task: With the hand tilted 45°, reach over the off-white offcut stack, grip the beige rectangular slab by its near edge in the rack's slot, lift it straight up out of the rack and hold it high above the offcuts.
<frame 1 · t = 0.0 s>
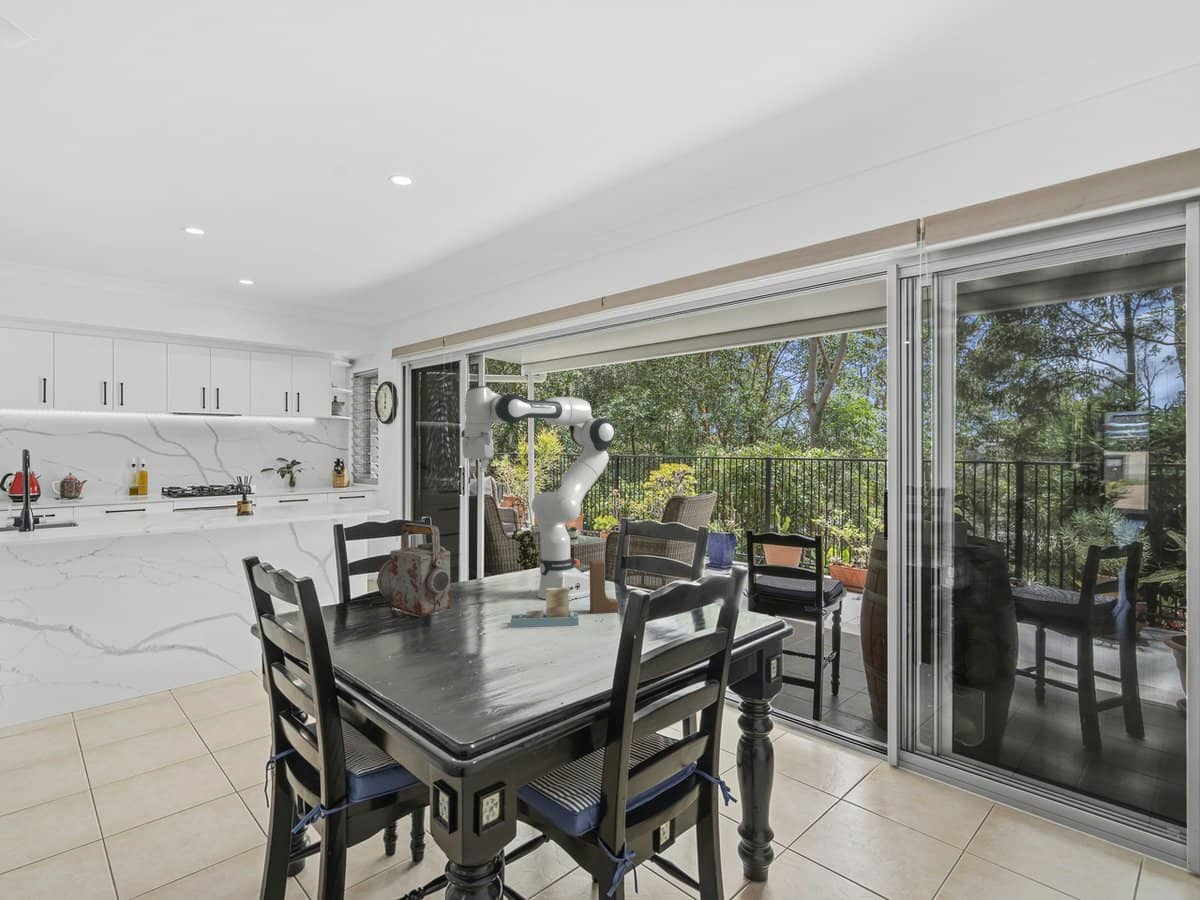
hand: (478, 471, 224), 48 cm above the table, tool pointing down, fingers open, 8 cm apart
wooden block: (604, 615, 214), on the table
beige rectangular slab: (557, 623, 200), point 1 cm above the table, touching rack
lantern: (416, 610, 223), on the table
offcut stack: (533, 624, 200), point 1 cm above the table, touching rack
rack: (557, 626, 200), on the table
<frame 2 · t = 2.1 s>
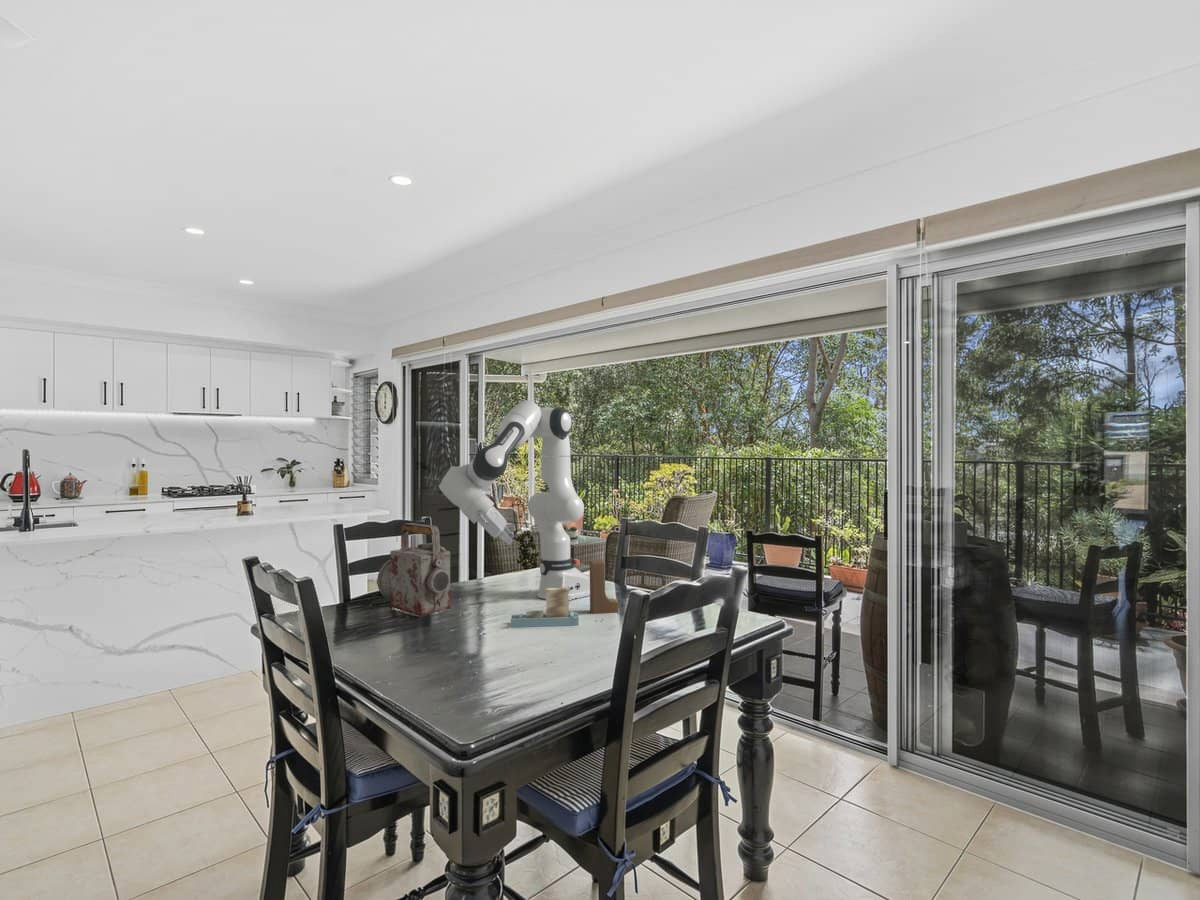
hand: (512, 540, 199), 27 cm above the table, tool tilted 45°, fingers open, 8 cm apart
nothing on the table moved.
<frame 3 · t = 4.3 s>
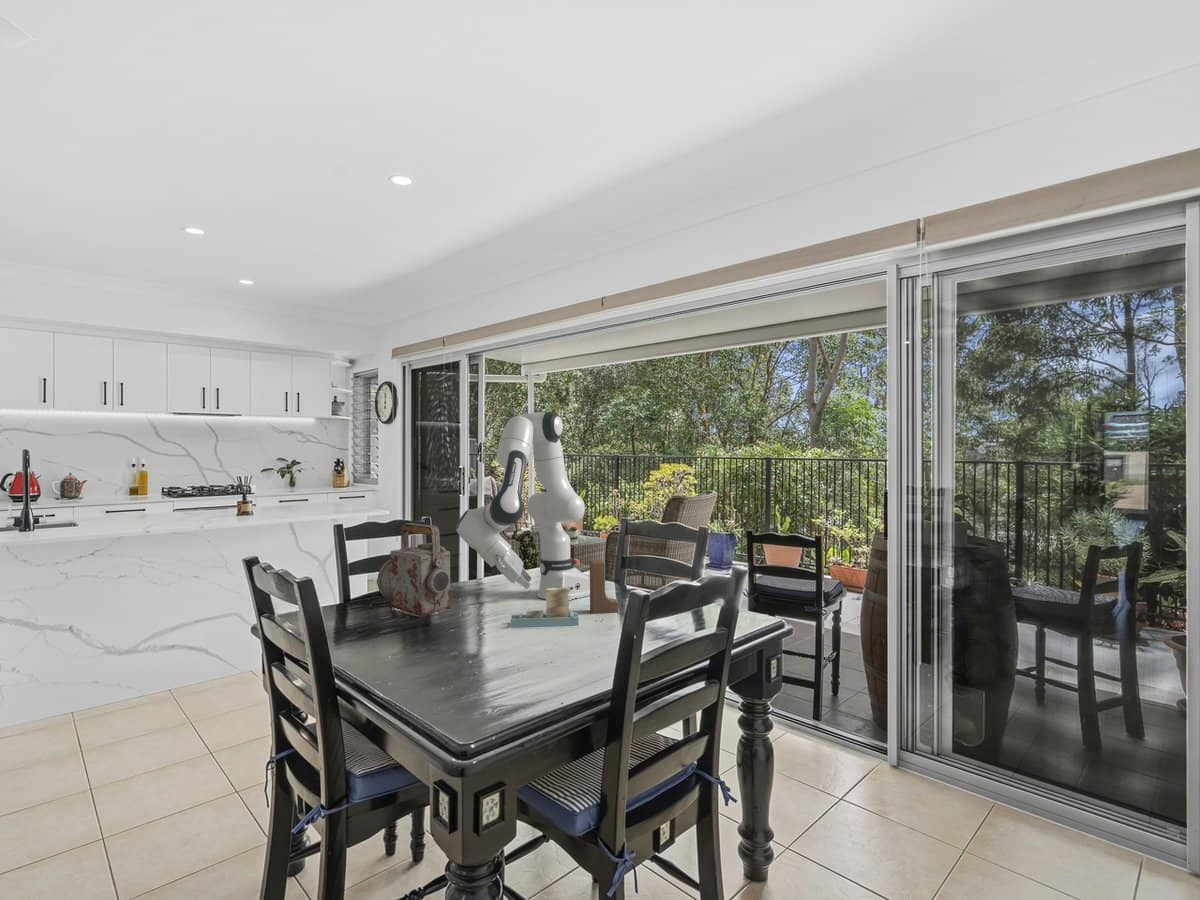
hand: (529, 583, 200), 14 cm above the table, tool tilted 45°, fingers open, 8 cm apart
nothing on the table moved.
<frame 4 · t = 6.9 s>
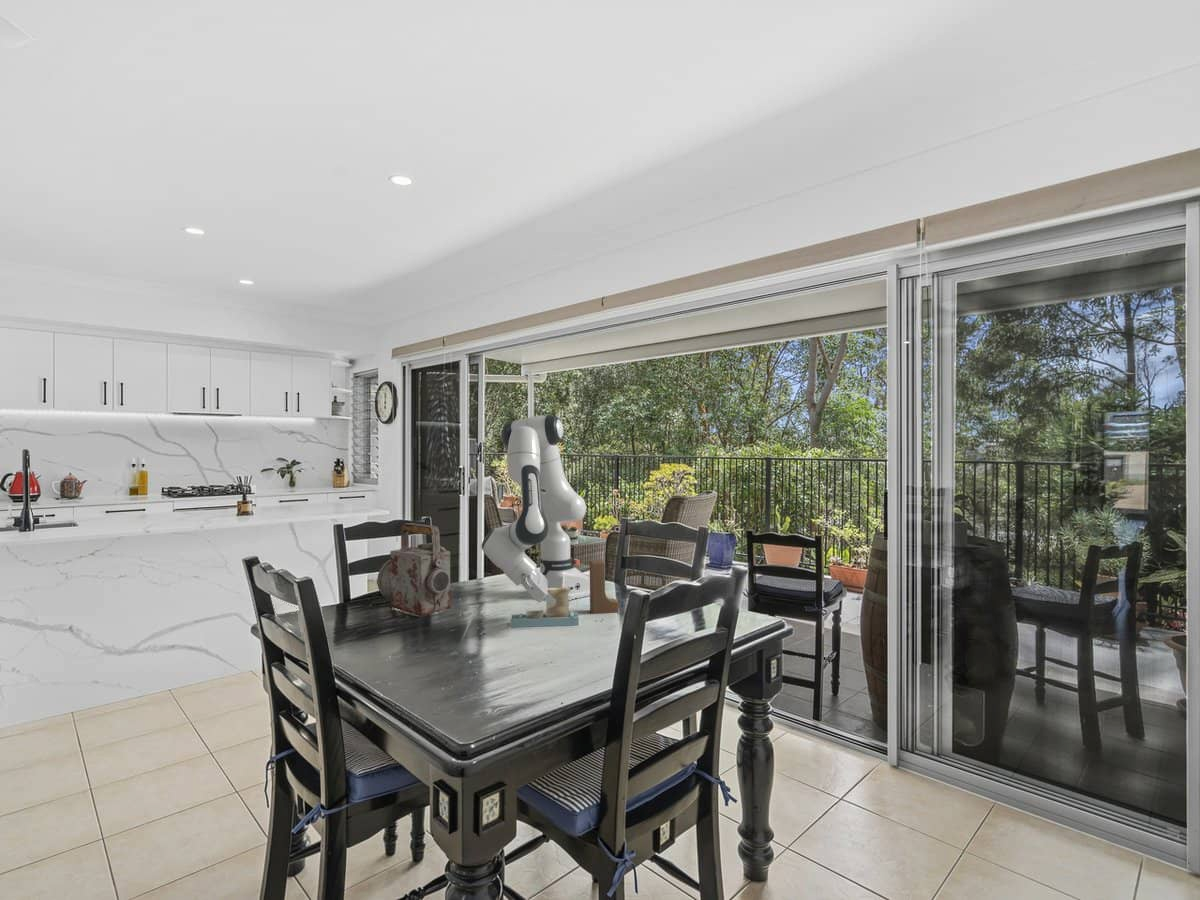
hand: (554, 601, 200), 8 cm above the table, tool tilted 45°, fingers closed on beige rectangular slab, 2 cm apart
beige rectangular slab: (557, 623, 200), point 1 cm above the table, touching gripper, rack
everything else where it was.
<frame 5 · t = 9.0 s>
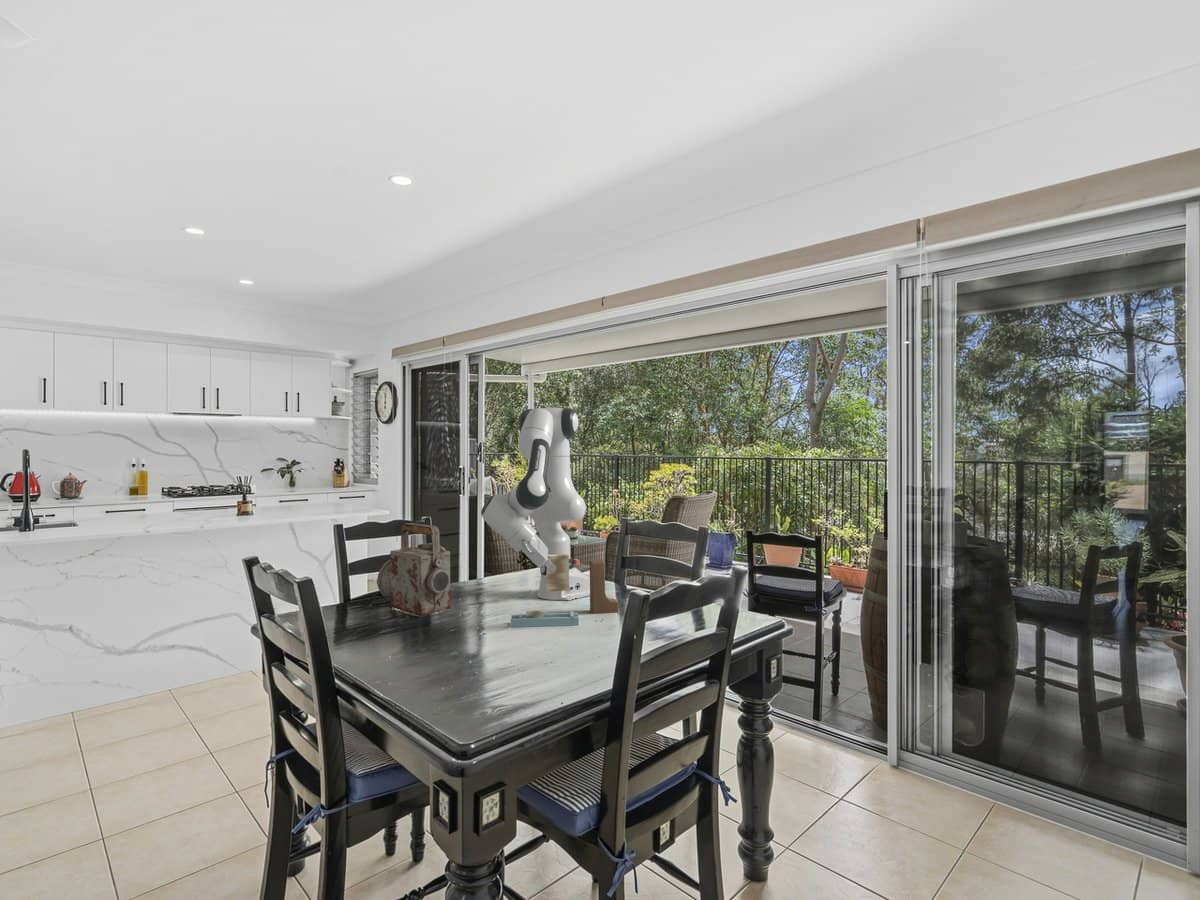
hand: (555, 568, 200), 18 cm above the table, tool tilted 45°, fingers closed on beige rectangular slab, 2 cm apart
beige rectangular slab: (558, 590, 200), point 12 cm above the table, touching gripper
everything else where it was.
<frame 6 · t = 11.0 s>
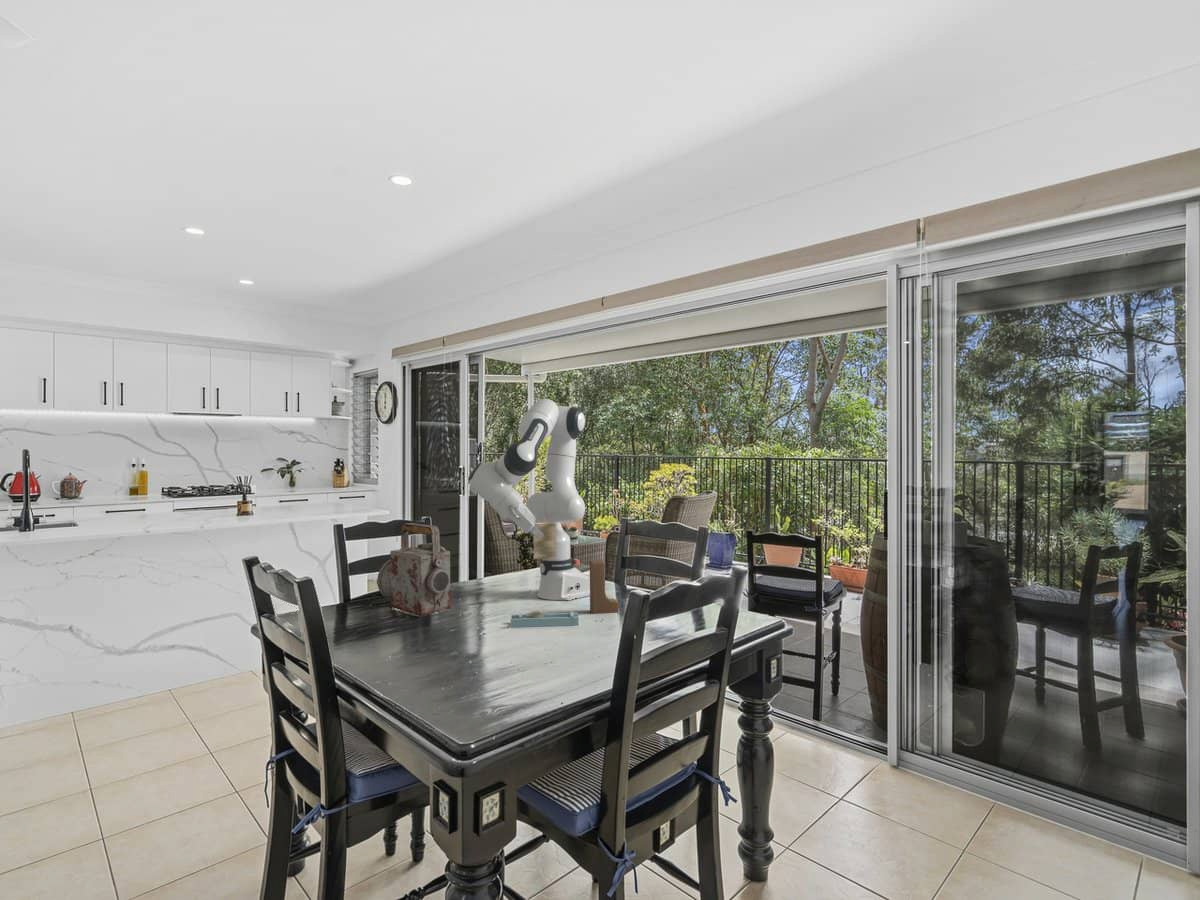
hand: (542, 536, 200), 29 cm above the table, tool tilted 45°, fingers closed on beige rectangular slab, 2 cm apart
beige rectangular slab: (545, 558, 200), point 22 cm above the table, touching gripper
everything else where it was.
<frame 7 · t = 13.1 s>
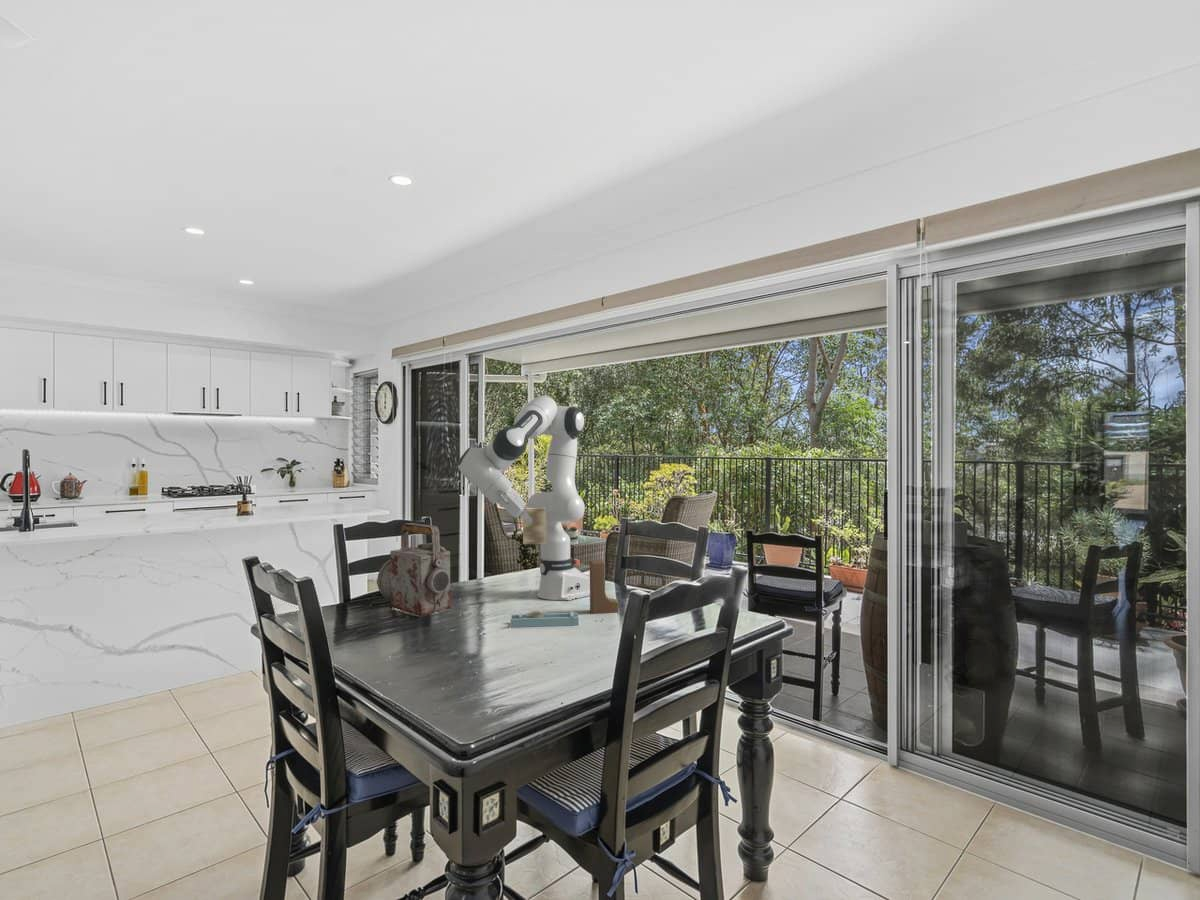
hand: (531, 521, 199), 33 cm above the table, tool tilted 45°, fingers closed on beige rectangular slab, 2 cm apart
beige rectangular slab: (534, 543, 199), point 26 cm above the table, touching gripper
everything else where it was.
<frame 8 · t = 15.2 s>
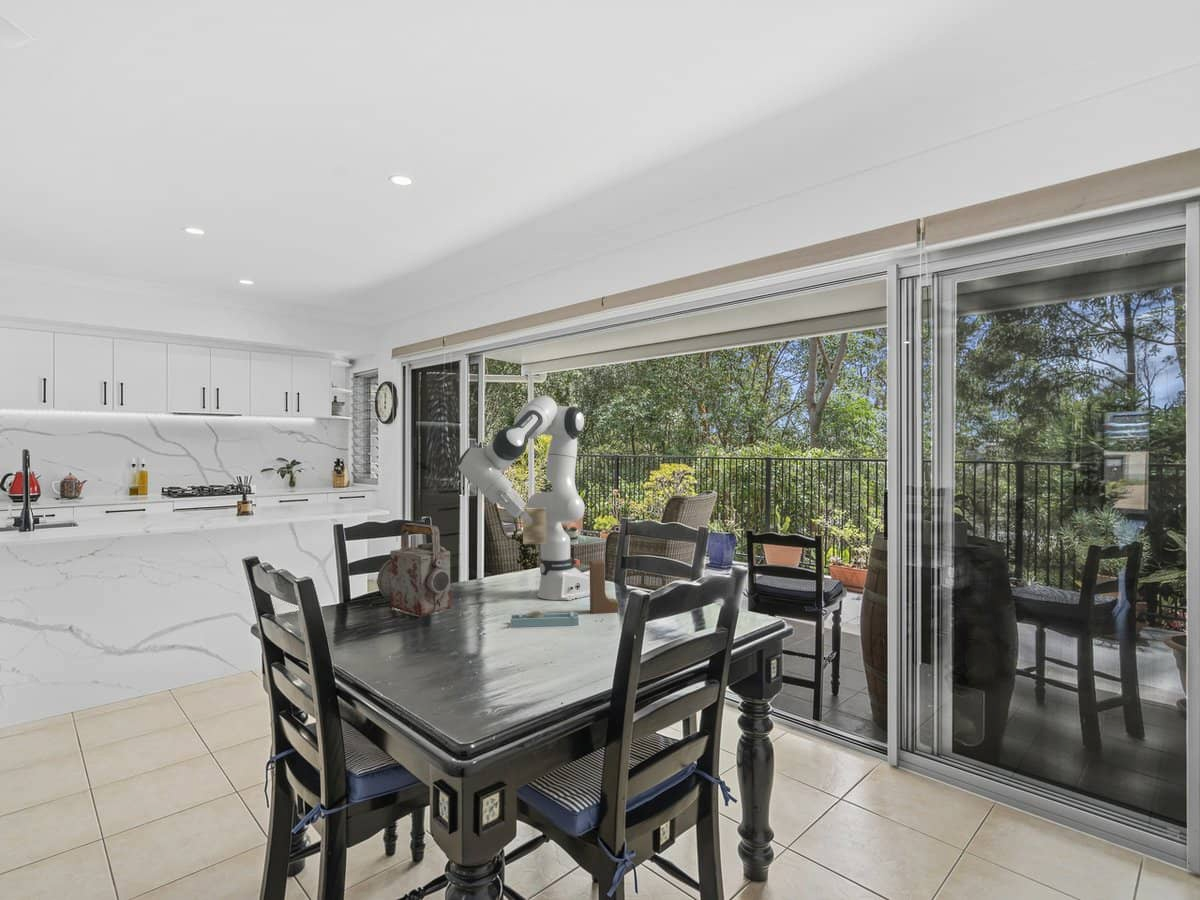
hand: (531, 521, 199), 33 cm above the table, tool tilted 45°, fingers closed on beige rectangular slab, 2 cm apart
beige rectangular slab: (534, 543, 199), point 26 cm above the table, touching gripper
everything else where it was.
at the end: the gripper is holding beige rectangular slab; beige rectangular slab point 26.5 cm above the table; offcut stack moved 0.0 cm from its start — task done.
